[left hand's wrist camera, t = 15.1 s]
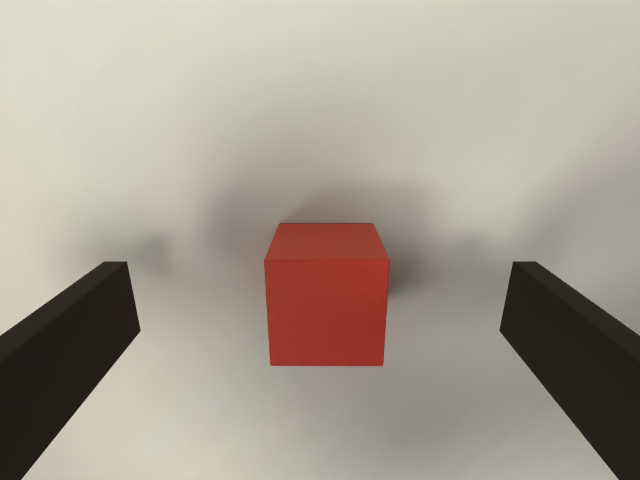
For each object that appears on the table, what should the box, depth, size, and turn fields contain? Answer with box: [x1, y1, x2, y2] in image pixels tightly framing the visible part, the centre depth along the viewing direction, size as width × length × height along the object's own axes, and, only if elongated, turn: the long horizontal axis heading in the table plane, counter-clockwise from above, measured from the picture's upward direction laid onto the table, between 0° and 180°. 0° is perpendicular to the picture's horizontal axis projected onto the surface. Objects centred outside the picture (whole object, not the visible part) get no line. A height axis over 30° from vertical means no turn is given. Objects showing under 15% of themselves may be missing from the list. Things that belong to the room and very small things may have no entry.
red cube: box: [264, 224, 390, 366], centre depth 14 cm, size 4×4×4 cm
